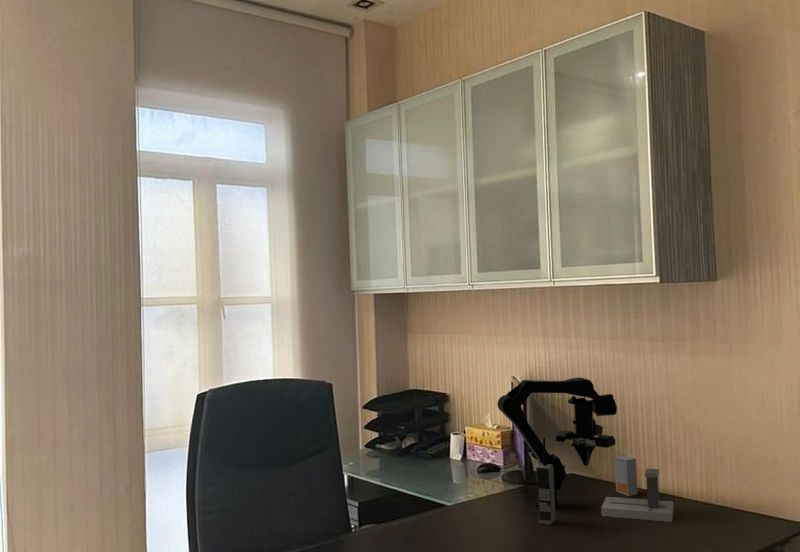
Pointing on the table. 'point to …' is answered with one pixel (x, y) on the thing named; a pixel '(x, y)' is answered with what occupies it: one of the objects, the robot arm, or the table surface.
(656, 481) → the fader tab
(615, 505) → the block
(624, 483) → the skincare box
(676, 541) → the table surface
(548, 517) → the vintage mobile phone
